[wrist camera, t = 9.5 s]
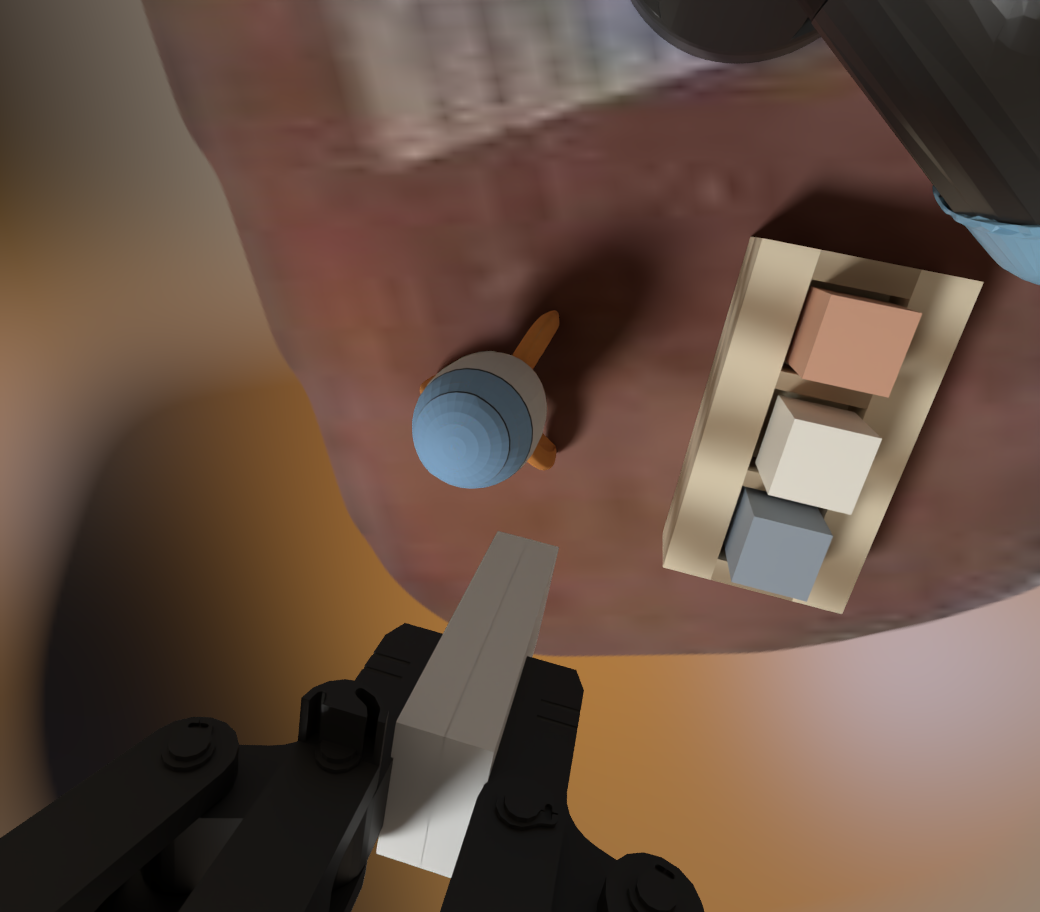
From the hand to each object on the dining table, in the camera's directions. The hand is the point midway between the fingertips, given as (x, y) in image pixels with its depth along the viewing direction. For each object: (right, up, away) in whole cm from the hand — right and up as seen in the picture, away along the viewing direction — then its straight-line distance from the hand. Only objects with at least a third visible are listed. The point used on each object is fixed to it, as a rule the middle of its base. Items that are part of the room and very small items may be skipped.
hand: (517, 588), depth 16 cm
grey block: (+15, -1, +25) cm, 30 cm away
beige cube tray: (+17, +6, +26) cm, 32 cm away
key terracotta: (+18, +10, +21) cm, 29 cm away
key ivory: (+16, +4, +22) cm, 28 cm away
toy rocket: (-1, +9, +29) cm, 31 cm away
